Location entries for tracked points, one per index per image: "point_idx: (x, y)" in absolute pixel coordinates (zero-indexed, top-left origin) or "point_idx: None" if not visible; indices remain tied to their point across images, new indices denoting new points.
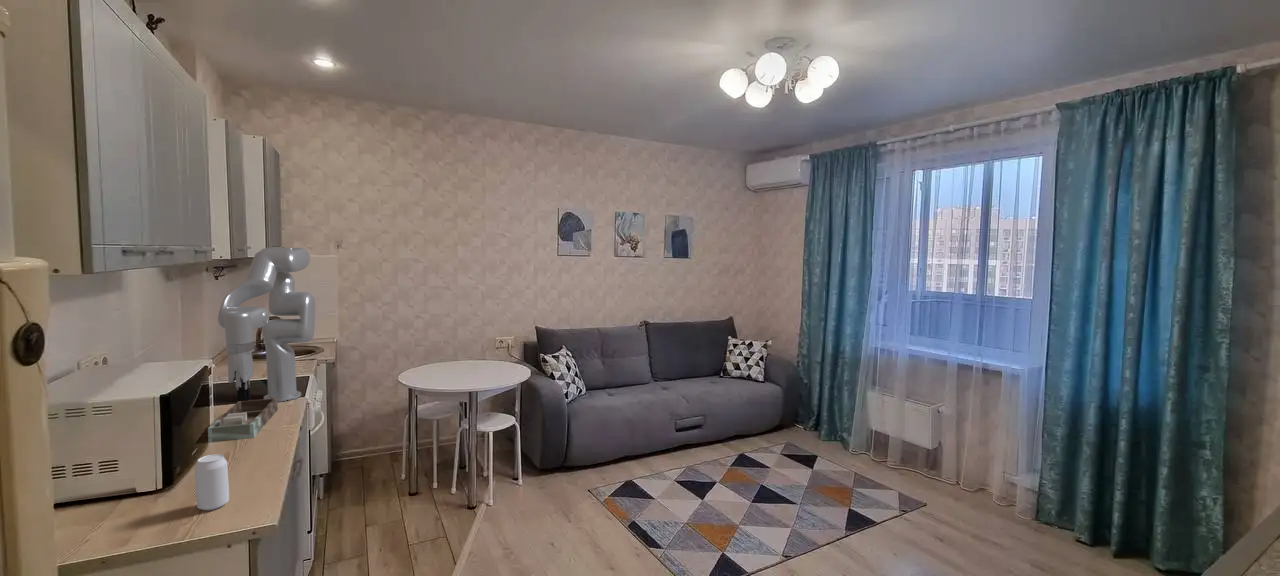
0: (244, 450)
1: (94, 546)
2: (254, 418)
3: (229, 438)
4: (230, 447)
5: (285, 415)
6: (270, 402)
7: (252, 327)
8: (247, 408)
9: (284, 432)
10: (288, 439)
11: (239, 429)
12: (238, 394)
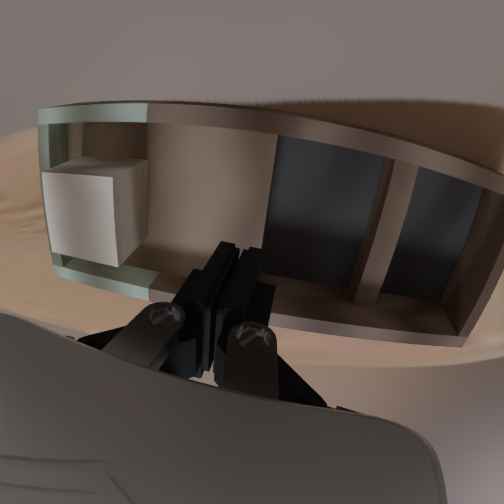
0: (8, 233)
1: None
2: None
3: None
4: (25, 193)
5: (341, 337)
6: (406, 332)
7: None
8: (487, 213)
9: (120, 326)
10: (66, 326)
11: None
12: (203, 277)
